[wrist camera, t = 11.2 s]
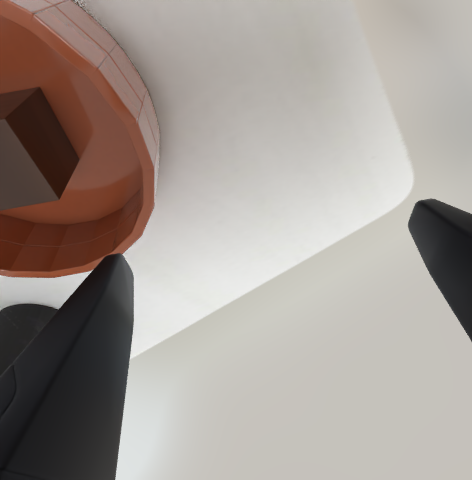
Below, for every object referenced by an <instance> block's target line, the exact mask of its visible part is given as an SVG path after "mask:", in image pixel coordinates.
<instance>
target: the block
mask: <svg viewBox="0 0 472 480" xmlns="http://www.w3.org/2000/svg"><path fill="white" fill-rule="evenodd" d="M79 161H80V159H79V157H78V156H77V154H76V152H75V150H74V148H73V146H72V145H71V143H70V141H69V139H68V137H67V136H66V134H65V132H64V130H63V128H62V126H61V125H60V123H59V121H58V119H57V117H56V116H55V114H54V112H53V110H52V108H51V106H50V105H49V103H48V101H47V99H46V97H45V96H44V94H43V92H42V90H41V88H40V87H36V88H31V89H25V90H19V91H14V92H8V93H3V94H0V211H1V210H7V209H12V208H18V207H23V206H29V205H35V204H40V203H46V202H51V201H57V200H60V198H61V196H62V194H63V192H64V190H65V188H66V186H67V184H68V182H69V180H70V178H71V176H72V174H73V172H74V170H75V169H76V167H77V165H78V163H79Z"/></svg>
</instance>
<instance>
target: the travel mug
mask: <svg viewBox="0 0 472 480" xmlns="http://www.w3.org/2000/svg"><path fill="white" fill-rule="evenodd" d="M57 311H58V310H56V309H53V308H50V307H46V306H41V305H33V304H22V305H14V306H10V307H7V308H5V309H3V310H1V311H0V376H1V375H2V374H3V373H4V372H5V371H6V369H7V368H8V367H9V366H10V365H11V364H13V362H14V360H15V359H16V358H17V357H18V356H19V355H20V353H21V352H22V351H23V350H24V349H25V348H26V347H27V345H28V344H29V343H30V342H31V341H32V340H33V339H34V337H35V336H36V335H37V334H38V333H39V332H40V331H41V329H42V328H43V327H44V326H45V325H46V324H47V323H48V321H49V320H50V319H51V318H52V317H53V316H54V314H55V313H56V312H57Z"/></svg>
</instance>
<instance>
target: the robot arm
mask: <svg viewBox="0 0 472 480" xmlns="http://www.w3.org/2000/svg"><path fill="white" fill-rule="evenodd" d="M408 228H409V231H410V233H411V235H412V237H413V239H414V242H415V244H416V246H417V248H418V250H419V252H420V254H421V257H422V259H423V261H424V263H425V265H426V267H427V269H428V271H429V273H430V275H431V276H432V278H433V280H434V281H435V283H436V285H437V286H438V288H439V289H440V291H441V293H442V294H443V296H444V298H445V299H446V301H447V302H448V304H449V306H450V307H451V309H452V310H453V312H454V314H455V315H456V317H457V318H458V320H459V321H460V323H461V325H462V326H463V328H464V330H465V331H466V333H467V335H468V336H469V338H470V339H471V341H472V214H470V213H468V212H465V211H463V210H460V209H458V208H455V207H453V206H450V205H448V204H445V203H443V202H440V201H438V200H436V199H426V200H421V201H418V202H417V203H416V204H415V206H414V209H413V211H412V214H411V217H410V219H409V222H408ZM133 322H134V278H133V273H132V270H131V268H130V267H129V265H128V263H127V261H126V260H125V258H124V256H123V255H122V254H120V253H116V254H110V255H107V256H105V257H104V258H103V259H102V261H101V262H100V263H99V264H98V265H97V266H96V267H95V269H94V270H93V271H92V272H91V273H90V274H89V275H88V277H87V278H86V279H85V280H84V281H83V282H82V283H81V285H80V286H79V287H78V288H77V289H76V290H75V292H74V293H73V294H72V295H71V296H70V297H69V298H68V300H67V301H66V302H65V303H64V304H63V305H62V306H61V308H60V309H59V310H58V311H57V312H56V313H55V314H54V316H53V317H52V318H51V319H50V320H49V321H48V323H47V324H46V325H45V326H44V327H43V328H42V329H41V331H40V332H39V333H38V334H37V335H36V336H35V337H34V339H33V340H32V341H31V342H30V343H29V344H28V345H27V347H26V348H25V349H24V350H23V351H22V352H21V353H20V355H19V356H18V357H17V358H16V359H15V360H14V362H13V364H11V365H10V366H9V367H8V368H7V369H6V371H5V372H4V373H3V374H2V375H1V376H0V480H115V477H116V468H117V459H118V451H119V443H120V434H121V426H122V418H123V410H124V401H125V393H126V385H127V376H128V368H129V359H130V351H131V343H132V334H133Z"/></svg>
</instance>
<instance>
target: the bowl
mask: <svg viewBox="0 0 472 480" xmlns="http://www.w3.org/2000/svg"><path fill="white" fill-rule="evenodd" d="M36 87H40V88H41V90H42V92H43V94H44V96H45V97H46V99H47V101H48V103H49V105H50V106H51V108H52V110H53V112H54V114H55V116H56V117H57V119H58V121H59V123H60V125H61V126H62V128H63V130H64V132H65V134H66V136H67V137H68V139H69V141H70V143H71V145H72V146H73V148H74V150H75V152H76V154H77V156H78V157H79V159H80V161H79V163H78V165H77V167H76V169H75V170H74V172H73V174H72V176H71V178H70V180H69V182H68V184H67V186H66V188H65V190H64V192H63V194H62V196H61V198H60V200H57V201H51V202H46V203H40V204H35V205H29V206H23V207H18V208H12V209H7V210H1V211H0V275H2V276H8V277H36V278H52V277H53V278H55V277H61V276H66V275H72V274H77V273H83V272H88V271H91V270H93V269H95V267H96V266H97V265H98V264H99V263H100V262H101V261H102V259H103V258H104V257H105V256H107V255H110V254H116V253H120V254H123V253H124V252H125V251H126V250H127V249H128V248H129V247H130V246H131V245H132V244H133V243H135V242H136V241H137V240H138V239H139V238H140V237H141V236H142V234H143V232H144V229H145V227H146V225H147V222H148V220H149V218H150V216H151V213H152V211H153V209H154V205H155V196H156V188H157V179H158V170H159V150H160V131H159V127H158V121H157V117H156V113H155V109H154V106H153V103H152V101H151V98H150V95H149V93H148V90H147V88H146V86H145V84H144V82H143V81H142V79H141V77H140V75H139V73H138V71H137V70H136V68H135V67H134V65H133V64H132V62H131V61H130V59H129V58H128V56H127V55H126V53H125V52H124V51H123V50H122V48H121V47H120V46H119V45H118V43H117V42H116V41H115V40H114V39H113V37H112V36H111V35H110V34H109V33H108V32H107V31H106V30H105V29H104V28H103V27H102V26H101V25H100V24H99V23H98V22H97V21H96V20H95V19H94V18H93V17H92V16H90V15H89V14H88V13H87V12H86V11H84V10H83V9H82V8H81V7H79V6H78V5H77V4H76V3H74V2H73V1H72V0H0V94H3V93H8V92H14V91H19V90H25V89H31V88H36Z"/></svg>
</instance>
